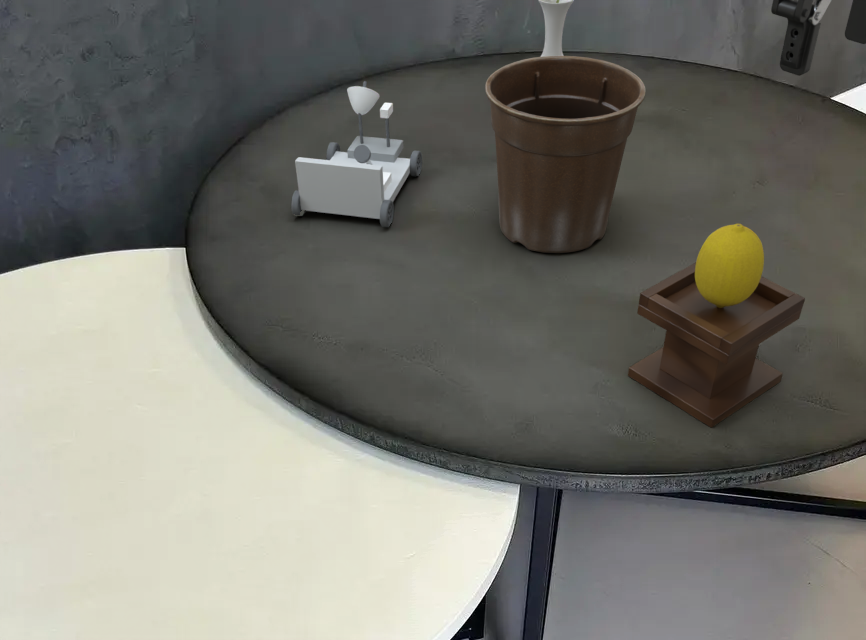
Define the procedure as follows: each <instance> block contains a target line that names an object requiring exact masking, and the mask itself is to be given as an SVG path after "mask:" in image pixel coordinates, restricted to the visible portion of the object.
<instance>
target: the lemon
mask: <svg viewBox="0 0 866 640" xmlns="http://www.w3.org/2000/svg"><path fill="white" fill-rule="evenodd" d="M695 262H696V267H695V281H696V285H697V288H698V290H699V292H700V294H701V295H702V296H703V297H704V298H705V299H706V300H707V301H709V302H710V303H712V304H714V305H716V306H717V307H718V308H723V307H725V306H733V305H736V304H739V303H741V302H743V301H744V300H746V299H747V298H748V297H749V296H750V295H751V294H752V293H753V292H754V290H755V289H756V287H757V286H758V284H759V281H760V279H761V276H762V275H763V271H764V266H765V253H764V245H763V243H762V240H761V239H760V238H759V236H758V235H757V233H756V232H755V231H753V230H752V229H751V228H749V227H747V226H745V225H743V224H741V223H735V224H727V225H724V226H721V227H719V228H717V229H716V230H714V231H713V232H712V233H711V234H709V235H708V236H707V238H706V239H705V241H704V242H703V244H702V246H701V248H700V249H699V251H698V254H697V257H696V260H695Z"/></svg>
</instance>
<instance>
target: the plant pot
mask: <svg viewBox="0 0 866 640" xmlns="http://www.w3.org/2000/svg"><path fill="white" fill-rule="evenodd" d="M484 87H485V94H486V97H487V99H488V101H489V105H490V118H491V119H490V121H491V127H492V130H493V131H494V138H495V139H494V141H495V155H496V172H497V189H498V190H497V192H498V215H499V220H498V221H499V227H500V231H501V233H502V235H504V237H505V238H506V239H507V240H508V241H510V242H511V243H513V244H517V243H520V244H521V245H523V246H524V247H525V248H526V249H527V250H529V251H532V252H533V251H534V252H538V253H545V254H566V253H573V252H578V251H582V250H585V249H588V248H589V247H591V246H592V245H593V244H594V243H595V241H597V240H598V241H600V240H602V239H603V237H604V236H605V234H606V232H607V228H608V223H609V219H610V213H611V209H612V204H613V200H614V196H615V192H616V187H617V182H618V178H619V174H620V170H621V165H622V162H623V157H624V152H625V150H626V145H627V141H628V138H629V136H630V135H631V133H632V131H633V128H634V125H635V124H634V123H635V121H636V116H637V113H638V108H639V107H640V106H641V105H642V103H643V102H644V100H645V97H646V96H645V95H646V86H645V83H644V82H643V81H642V79H641V78H640V77H639V76H638V75H637V74H635V73H634V72H632V71H631V70H630V69H627V68H626V67H623V66H621V65H619V64H617V63H613V62H610V61H607V60H603V59H597V58H591V57H586V56H585V57H584V56H578V55H577V56H576V55H564V56H544V57H541V56H536V57H530V58H525V59H521V60H517V61H514V62H511V63H509V64H506V65H503V66H502V67H500V68H499V69H497V70H495V71H493V73H491V74H490V76H488V78H487V80H486V81H485V86H484Z"/></svg>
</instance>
